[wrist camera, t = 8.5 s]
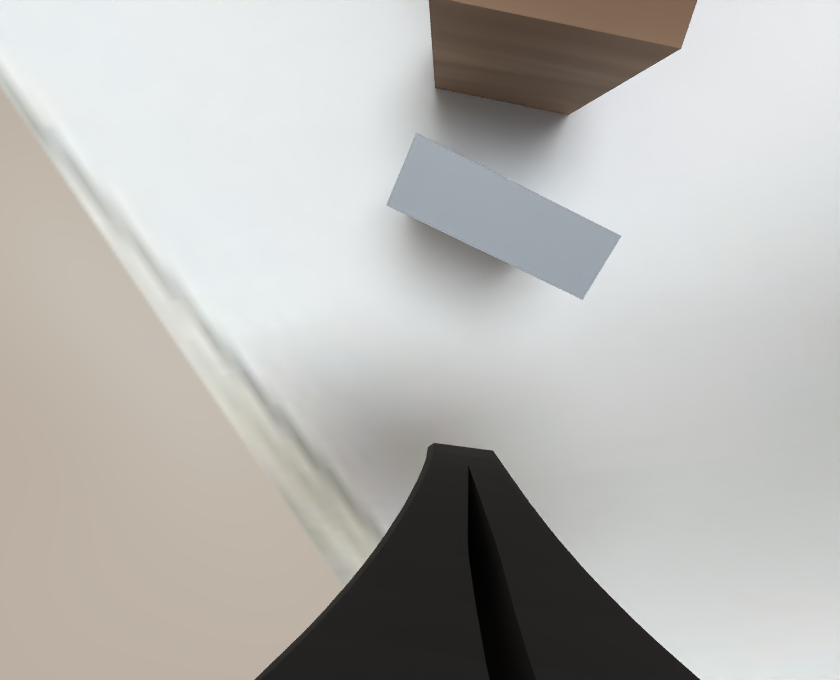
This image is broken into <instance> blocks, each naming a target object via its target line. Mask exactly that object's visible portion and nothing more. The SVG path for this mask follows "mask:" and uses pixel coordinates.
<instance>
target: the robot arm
mask: <svg viewBox="0 0 840 680" xmlns="http://www.w3.org/2000/svg"><path fill="white" fill-rule="evenodd" d="M255 680H700V679H699V678H698V677H696V676H695V675H694V674H693V673H692V672H691V671H690V670H689V669H687V668H686V667H685V666H684V665H683V664H682V663H681V662H679V661H678V660H677V659H676V658H675V657H674V656H673V655H672V654H670V653H669V652H668V651H667V650H666V649H665V648H664V647H662V646H661V645H660V644H659V643H658V642H657V641H656V640H655V639H654V638H653V637H652V636H650V635H649V634H648V633H647V632H646V631H645V630H644V629H643V628H642V627H641V626H640V625H639V624H638V623H637V622H636V621H634V620H633V619H632V618H631V617H630V616H629V615H628V614H627V613H626V612H625V611H624V610H623V609H622V608H621V607H620V606H619V605H618V604H617V603H616V602H615V601H614V600H613V599H612V598H611V597H610V596H609V595H608V594H607V592H606V591H605V590H604V589H603V588H602V587H601V586H600V585H599V584H598V583H597V582H596V581H595V580H594V579H593V578H592V577H591V576H590V575H589V574H588V573H587V572H586V571H585V569H584V568H583V567H582V566H581V565H580V564H579V563H578V562H577V560H576V559H575V558H574V557H573V556H572V555H571V553H570V552H569V551H568V550H567V549H566V548H565V547H564V545H563V544H562V543H561V542H560V541H559V540H558V538H557V537H556V536H555V535H554V534H553V532H552V531H551V530H550V529H549V527H548V526H547V525H546V523H545V522H544V521H543V520H542V518H541V517H540V516H539V514H538V513H537V512H536V510H535V509H534V508H533V507H532V505H531V504H530V502H529V501H528V500H527V498H526V497H525V496H524V494H523V493H522V491H521V490H520V489H519V487H518V486H517V484H516V483H515V482H514V480H513V479H512V477H511V476H510V474H509V473H508V472H507V470H506V469H505V467H504V466H503V464H502V463H501V461H500V460H499V459H498V457H497V456H496V454H495V453H494V452H493V451H491V450H483V449H475V448H468V447H460V446H453V445H445V444H437V443H433V444H432V445H430V446H429V447H428V450H427V457H426V460H425V464H424V466H423V469H422V471H421V473H420V476H419V478H418V480H417V482H416V484H415V486H414V488H413V490H412V492H411V494H410V495H409V497H408V499H407V501H406V503H405V505H404V506H403V508H402V510H401V511H400V513H399V514H398V516H397V517H396V519H395V521H394V522H393V524H392V525H391V527H390V528H389V530H388V531H387V533H386V534H385V536H384V537H383V539H382V540H381V542H380V543H379V544H378V546H377V547H376V549H375V550H374V551H373V553H372V554H371V555H370V557H369V558H368V559H367V561H366V562H365V563H364V564H363V566H362V567H361V568H360V569H359V571H358V572H357V573H356V574H355V576H354V577H353V578H352V579H351V580H350V582H349V583H348V584H347V585H346V586H345V587H344V589H343V590H342V591H341V592H340V593H339V594H338V595H337V596H336V598H335V599H334V600H333V601H332V602H331V603H330V605H329V606H328V607H327V608H326V609H325V610H324V611H323V612H322V613H321V614H320V616H319V617H318V618H317V619H316V620H315V621H314V622H313V623H312V624H311V625H310V626H309V627H308V628H307V629H306V630H305V631H304V632H303V633H302V634H301V635H300V636H299V637H298V638H297V639H296V640H295V641H294V642H293V643H292V644H291V645H290V646H289V647H288V648H287V649H286V650H285V651H284V652H283V653H282V654H281V655H280V656H279V657H278V658H276V659H275V660H274V661H273V662H272V663H271V664H270V665H269V666H268V667H267V668H266V669H265V670H264V671H263V672H262V673H261V674H260V675H259V676H258V677H257V678H256V679H255Z"/></svg>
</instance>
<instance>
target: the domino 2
mask: <svg viewBox="0 0 840 680" xmlns="http://www.w3.org/2000/svg"><path fill="white" fill-rule="evenodd" d="M387 206H389V207H391V208H393V209H395V210H398V211H400V212H402V213H404V214H406V215H408V216H410V217H412V218H414V219H416V220H418V221H420V222H422V223H425V224H427V225H429V226H431V227H433V228H435V229H437V230H439V231H441V232H443V233H445V234H447V235H449V236H452V237H454V238H456V239H458V240H460V241H462V242H464V243H466V244H468V245H470V246H472V247H474V248H476V249H479V250H481V251H483V252H485V253H487V254H489V255H491V256H493V257H495V258H497V259H499V260H501V261H503V262H506V263H508V264H510V265H512V266H514V267H516V268H518V269H520V270H522V271H524V272H526V273H528V274H530V275H533V276H535V277H537V278H539V279H541V280H543V281H545V282H547V283H549V284H551V285H553V286H555V287H557V288H559V289H562V290H564V291H566V292H568V293H570V294H572V295H574V296H576V297H578V298H580V299H582V300H583V298H584V296H585V295H586V293H587V291H588V290H589V288H590V286H591V285H592V283H593V282H594V280H595V278H596V277H597V275H598V273H599V272H600V270H601V268H602V267H603V265H604V263H605V262H606V260H607V259H608V257H609V255H610V254H611V252H612V250H613V249H614V247H615V245H616V244H617V242H618V240H619V239H620V237H621V236H620V235H618V234H616V233H614V232H612V231H610V230H608V229H606V228H604V227H602V226H600V225H598V224H596V223H594V222H592V221H590V220H588V219H586V218H584V217H582V216H580V215H578V214H576V213H574V212H572V211H570V210H568V209H567V208H565V207H563V206H561V205H559V204H557V203H555V202H553V201H551V200H549V199H547V198H545V197H543V196H541V195H539V194H537V193H535V192H533V191H531V190H529V189H527V188H525V187H523V186H521V185H519V184H517V183H515V182H513V181H511V180H509V179H507V178H505V177H503V176H501V175H499V174H497V173H495V172H493V171H491V170H489V169H487V168H485V167H483V166H481V165H479V164H477V163H475V162H473V161H471V160H469V159H467V158H465V157H463V156H461V155H459V154H457V153H455V152H453V151H451V150H449V149H447V148H445V147H443V146H441V145H439V144H437V143H435V142H433V141H431V140H429V139H427V138H425V137H423V136H421V135H419V134H417V133H416V135H415V138H414V140H413V143H412V145H411V147H410V150H409V152H408V155H407V157H406V159H405V162H404V164H403V167H402V169H401V171H400V174H399V176H398V179H397V181H396V184H395V186H394V188H393V191H392V193H391V196H390V198H389V200H388V203H387Z"/></svg>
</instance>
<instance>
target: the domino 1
mask: <svg viewBox="0 0 840 680" xmlns="http://www.w3.org/2000/svg"><path fill="white" fill-rule="evenodd" d="M696 2H697V0H429V8H430V22H431V37H432V51H433V66H434V80H435V88H440V89H445V90H450V91H454V92H459V93H464V94H469V95H474V96H479V97H484V98H489V99H494V100H498V101H503V102H508V103H513V104H518V105H523V106H528V107H533V108H538V109H542V110H547V111H552V112H557V113H562V114H567V115H569V114H571V113H572V112H574V111H576V110H578V109H579V108H581V107H583V106H584V105H586V104H588V103H589V102H591V101H593V100H595V99H596V98H598V97H600V96H601V95H603V94H605V93H606V92H608V91H610V90H611V89H613V88H615V87H617V86H618V85H620V84H622V83H623V82H625V81H627V80H628V79H630V78H632V77H634V76H635V75H637V74H639V73H640V72H642V71H644V70H645V69H647V68H649V67H650V66H652V65H654V64H656V63H657V62H659V61H661V60H662V59H664V58H666V57H667V56H669V55H671V54H673V53H674V52H676V51H678V50H679V49H681V47H682V44H683V41H684V38H685V35H686V32H687V29H688V26H689V23H690V20H691V17H692V14H693V11H694V8H695V5H696Z"/></svg>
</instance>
